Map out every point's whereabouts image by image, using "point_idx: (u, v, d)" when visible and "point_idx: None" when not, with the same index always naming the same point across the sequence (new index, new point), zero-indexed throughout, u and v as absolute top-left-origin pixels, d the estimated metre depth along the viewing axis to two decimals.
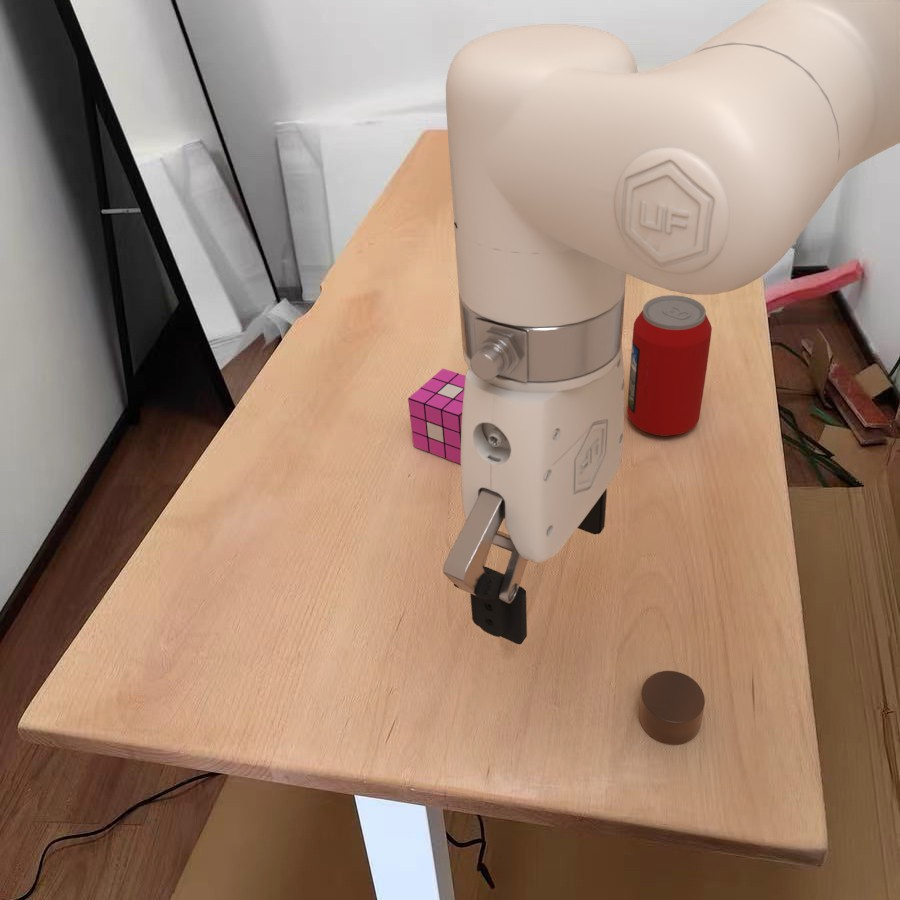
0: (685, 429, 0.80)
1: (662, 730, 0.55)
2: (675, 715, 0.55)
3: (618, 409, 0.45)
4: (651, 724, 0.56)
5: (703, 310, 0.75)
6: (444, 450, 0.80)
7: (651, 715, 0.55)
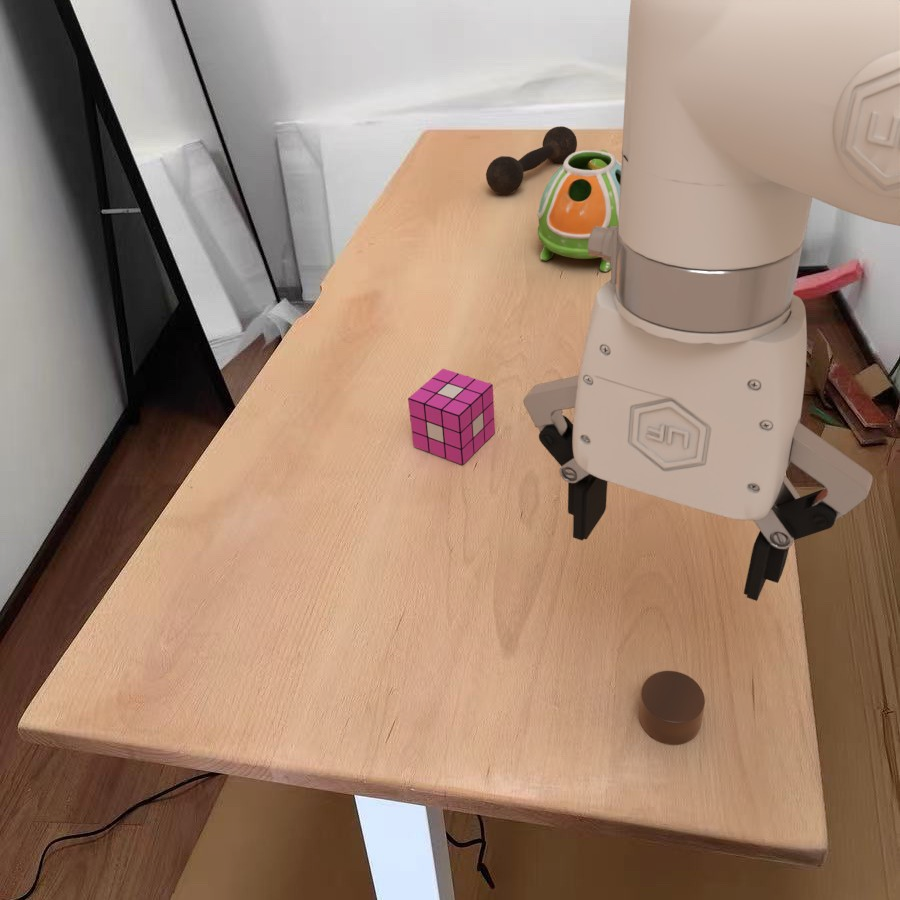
0: None
1: (662, 730, 0.55)
2: (675, 715, 0.55)
3: (745, 443, 0.38)
4: (651, 724, 0.56)
5: None
6: (444, 450, 0.80)
7: (651, 715, 0.55)
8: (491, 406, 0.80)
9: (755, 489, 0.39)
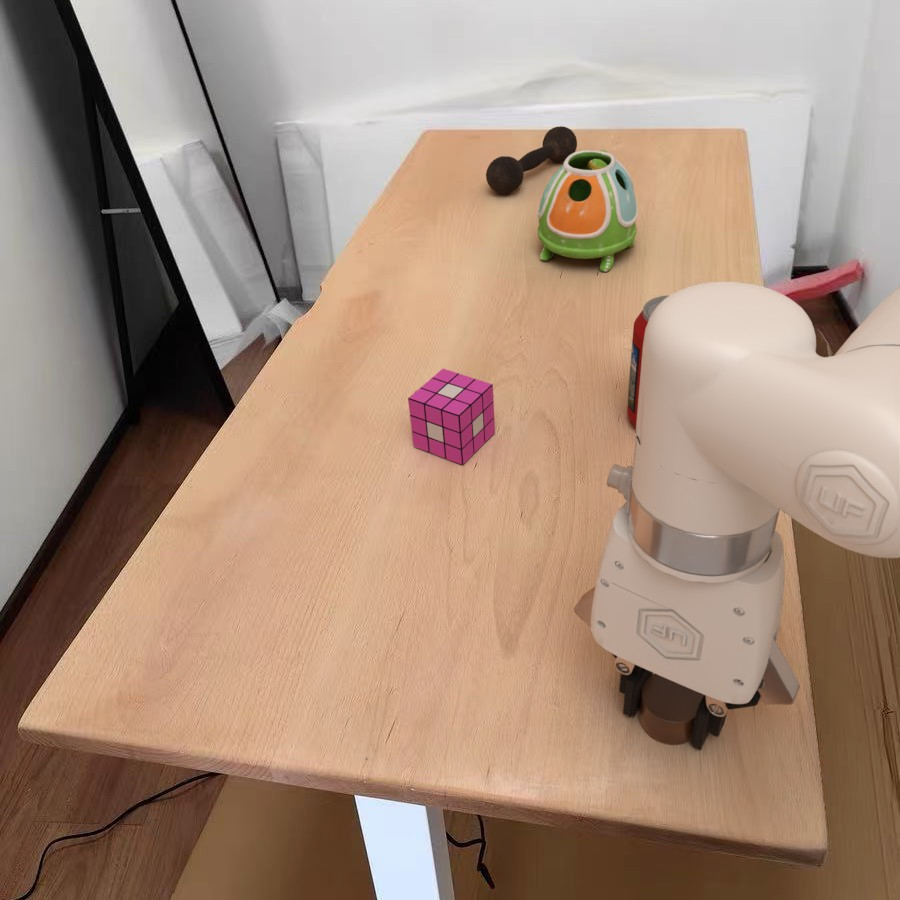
0: None
1: (662, 730, 0.55)
2: (675, 715, 0.55)
3: (732, 650, 0.46)
4: (651, 724, 0.56)
5: None
6: (444, 450, 0.80)
7: (651, 716, 0.55)
8: (491, 406, 0.80)
9: (740, 683, 0.48)
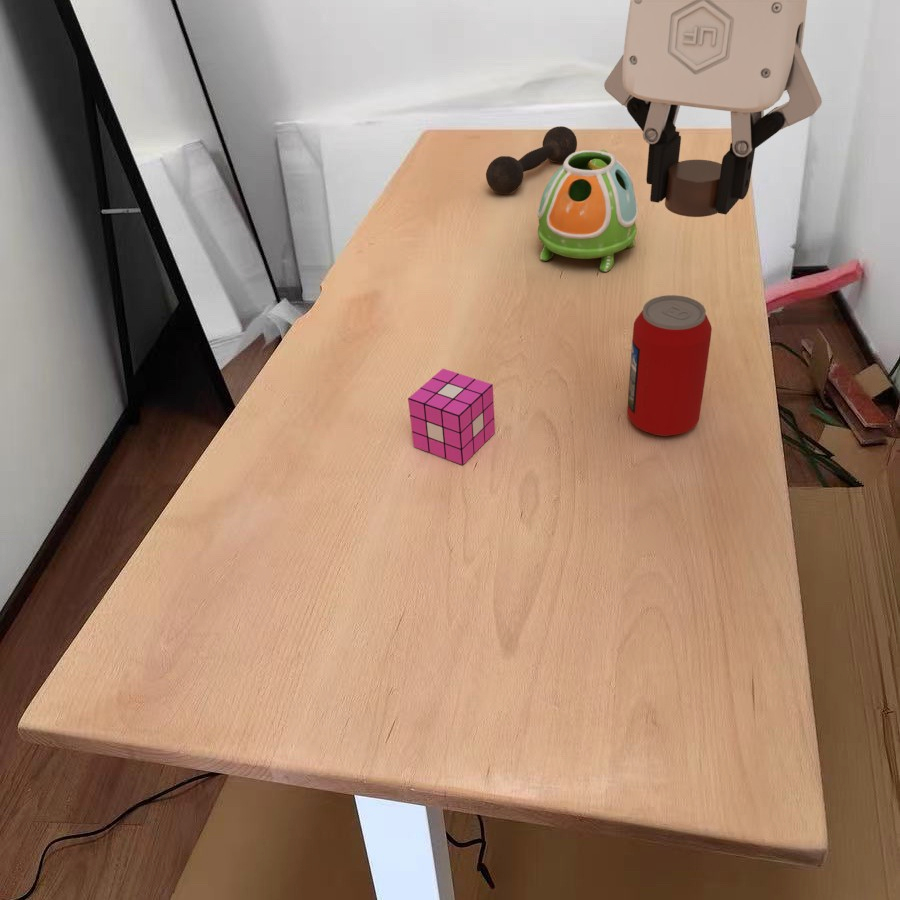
0: (685, 429, 0.80)
1: (689, 198, 0.58)
2: (701, 178, 0.57)
3: (760, 28, 0.49)
4: (678, 194, 0.58)
5: (703, 310, 0.75)
6: (444, 450, 0.80)
7: (678, 183, 0.58)
8: (491, 406, 0.80)
9: (767, 75, 0.51)
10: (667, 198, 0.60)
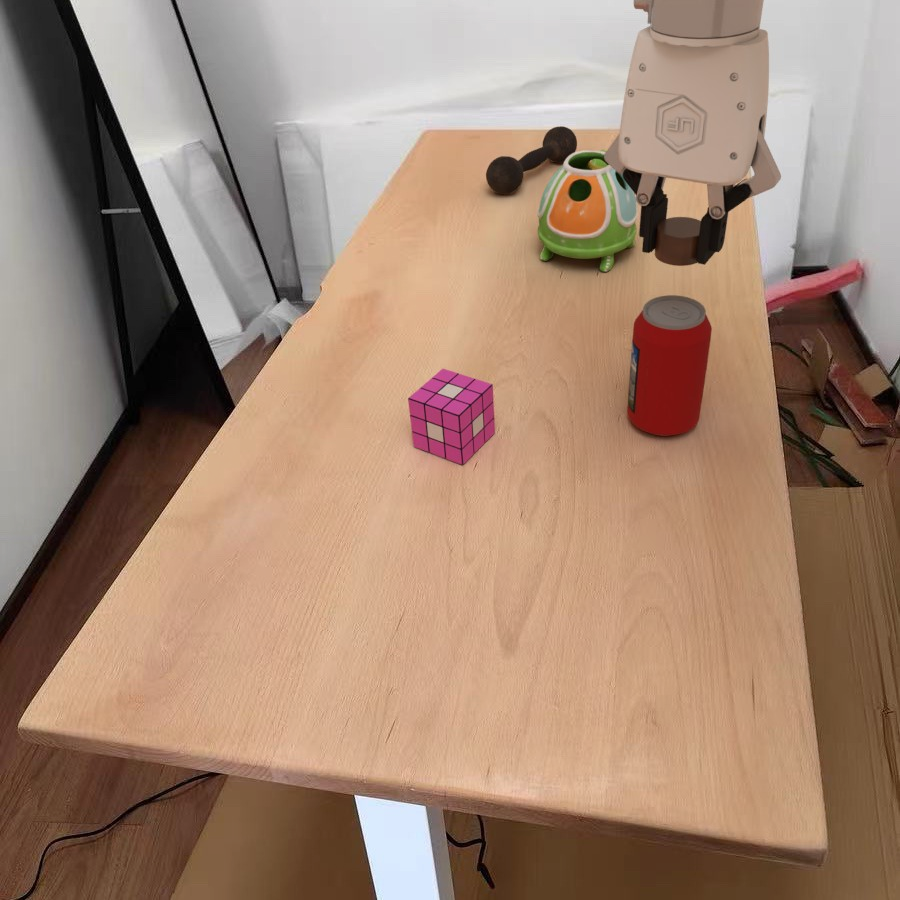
0: (685, 429, 0.80)
1: (674, 250, 0.70)
2: (684, 234, 0.69)
3: (729, 121, 0.61)
4: (665, 247, 0.70)
5: (703, 310, 0.75)
6: (444, 450, 0.80)
7: (665, 238, 0.70)
8: (491, 406, 0.80)
9: (735, 157, 0.62)
10: (656, 249, 0.71)
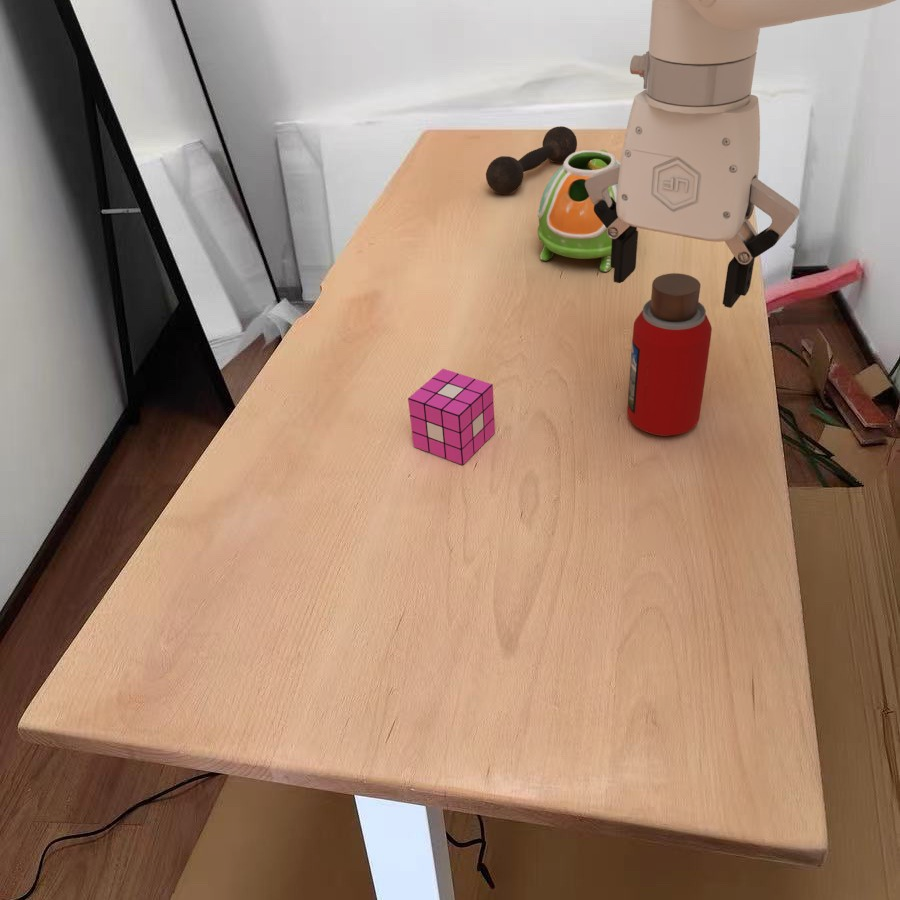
0: (685, 429, 0.80)
1: (668, 306, 0.73)
2: (678, 292, 0.72)
3: (721, 182, 0.64)
4: (660, 303, 0.73)
5: (703, 310, 0.75)
6: (444, 450, 0.80)
7: (660, 295, 0.73)
8: (491, 406, 0.80)
9: (727, 216, 0.65)
10: (652, 305, 0.75)
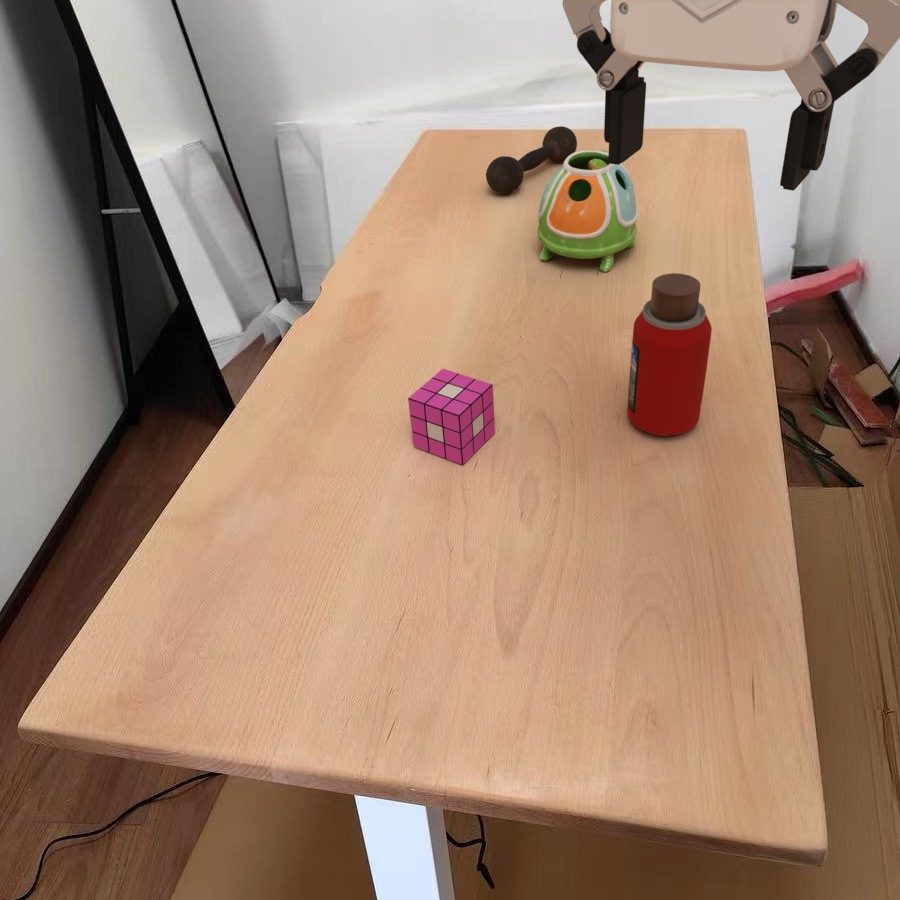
0: (685, 429, 0.80)
1: (668, 306, 0.73)
2: (678, 292, 0.72)
3: None
4: (660, 303, 0.73)
5: (703, 310, 0.75)
6: (444, 450, 0.80)
7: (660, 295, 0.73)
8: (491, 406, 0.80)
9: (794, 20, 0.39)
10: (652, 305, 0.75)
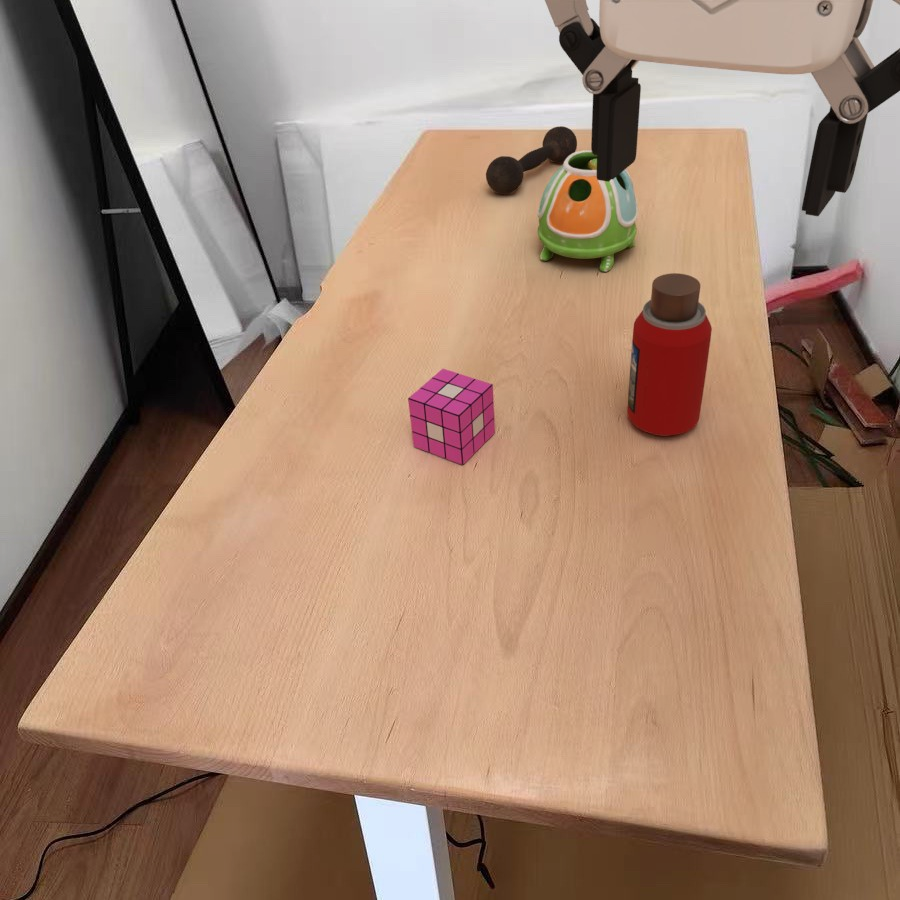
0: (685, 429, 0.80)
1: (668, 306, 0.73)
2: (678, 292, 0.72)
3: None
4: (660, 303, 0.73)
5: (703, 310, 0.75)
6: (444, 450, 0.80)
7: (660, 295, 0.73)
8: (491, 406, 0.80)
9: (826, 12, 0.32)
10: (652, 305, 0.75)
